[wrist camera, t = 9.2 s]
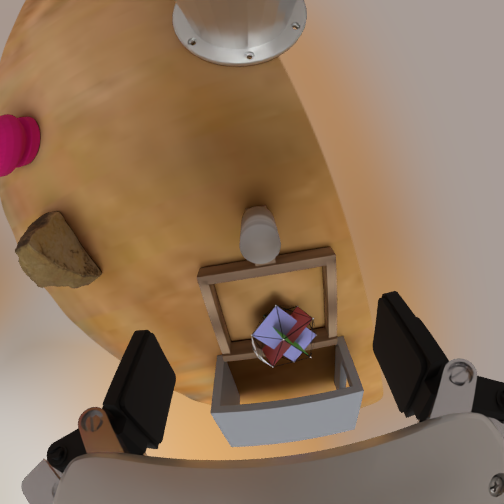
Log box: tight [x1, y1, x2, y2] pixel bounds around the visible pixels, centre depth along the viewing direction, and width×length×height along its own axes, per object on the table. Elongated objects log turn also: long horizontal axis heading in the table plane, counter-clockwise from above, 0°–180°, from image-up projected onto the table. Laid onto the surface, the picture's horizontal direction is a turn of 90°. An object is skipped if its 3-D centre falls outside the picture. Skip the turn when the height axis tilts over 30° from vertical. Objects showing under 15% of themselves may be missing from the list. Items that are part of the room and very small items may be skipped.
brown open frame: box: [197, 205, 338, 362], centre depth 26 cm, size 18×14×7 cm
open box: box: [211, 336, 364, 447], centre depth 32 cm, size 10×17×10 cm, turn 100°
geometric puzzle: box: [251, 305, 317, 368], centre depth 29 cm, size 7×7×8 cm
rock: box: [15, 212, 102, 288], centre depth 25 cm, size 11×9×10 cm
